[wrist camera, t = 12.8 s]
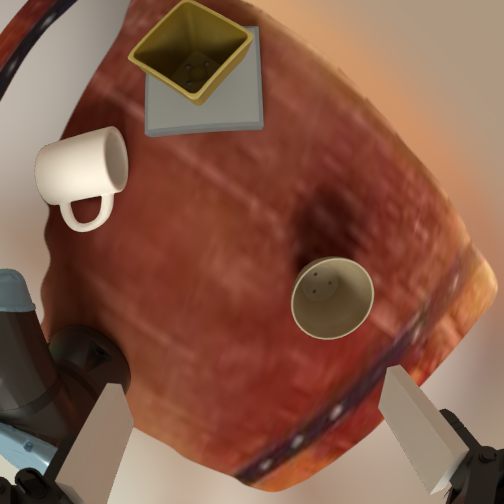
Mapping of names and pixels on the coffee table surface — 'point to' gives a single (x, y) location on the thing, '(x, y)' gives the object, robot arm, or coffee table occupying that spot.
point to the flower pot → (192, 50)
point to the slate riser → (209, 102)
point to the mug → (83, 172)
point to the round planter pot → (331, 297)
